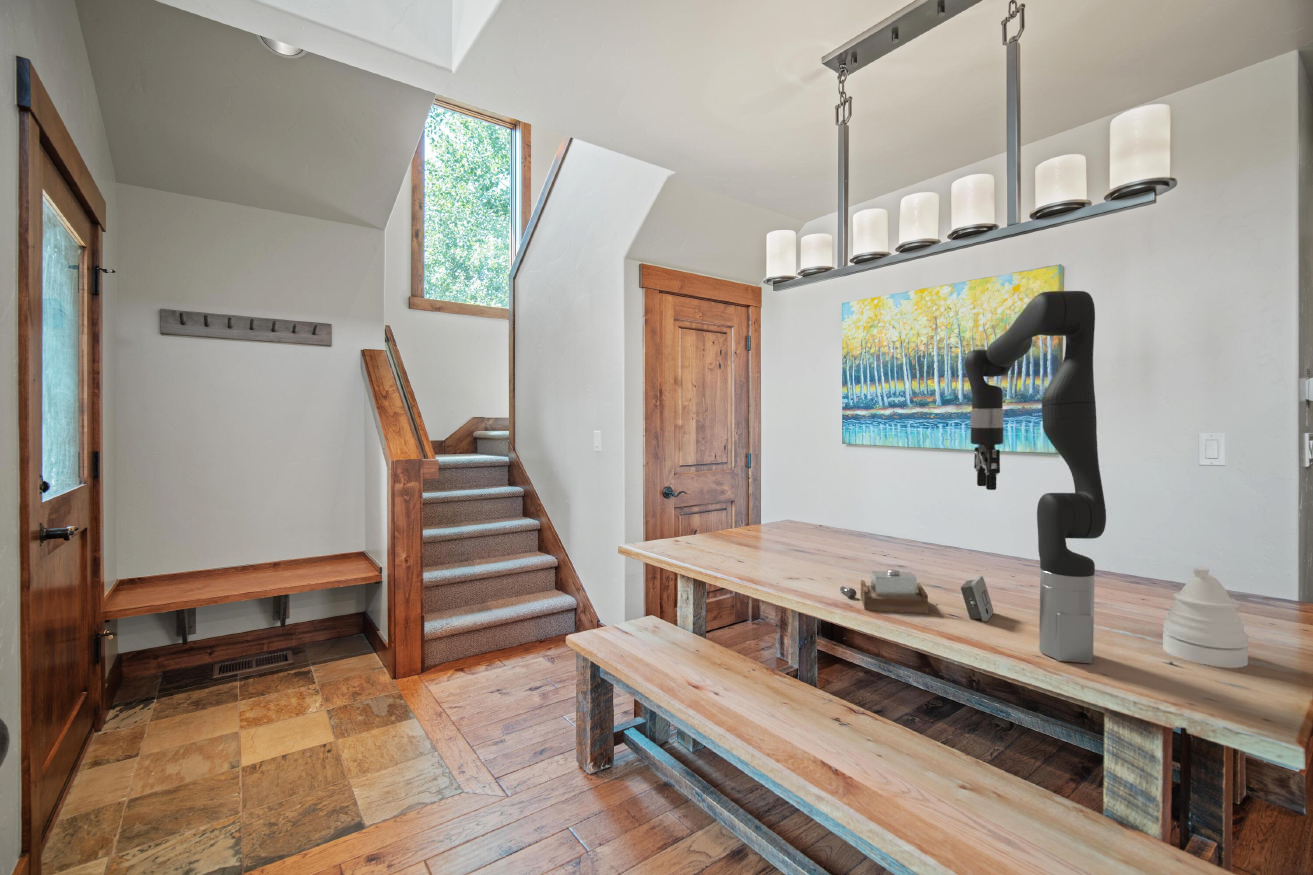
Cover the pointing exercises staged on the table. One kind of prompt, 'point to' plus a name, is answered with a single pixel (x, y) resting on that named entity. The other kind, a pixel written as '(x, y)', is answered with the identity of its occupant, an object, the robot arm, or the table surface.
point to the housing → (893, 583)
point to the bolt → (848, 592)
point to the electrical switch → (977, 599)
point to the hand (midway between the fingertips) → (986, 487)
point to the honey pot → (1205, 624)
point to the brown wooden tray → (894, 601)
